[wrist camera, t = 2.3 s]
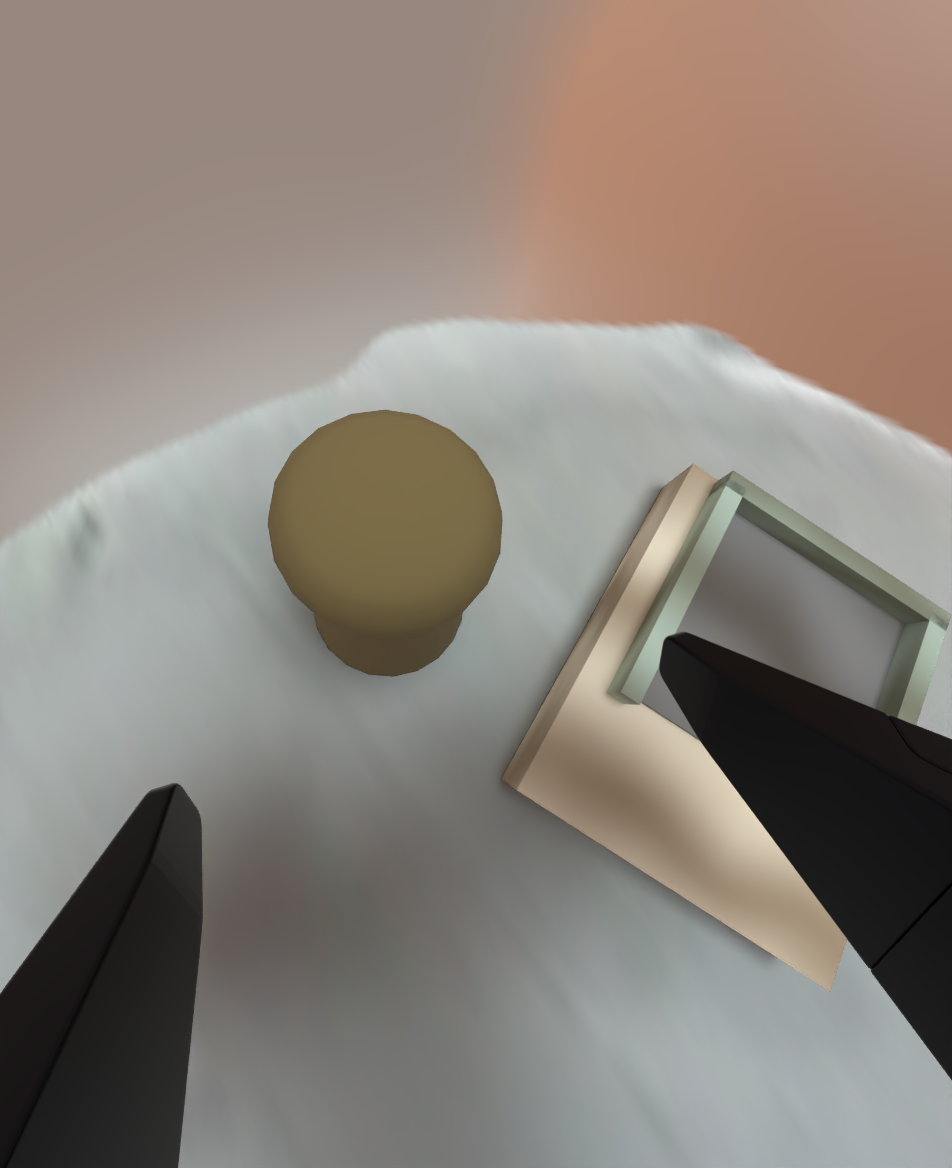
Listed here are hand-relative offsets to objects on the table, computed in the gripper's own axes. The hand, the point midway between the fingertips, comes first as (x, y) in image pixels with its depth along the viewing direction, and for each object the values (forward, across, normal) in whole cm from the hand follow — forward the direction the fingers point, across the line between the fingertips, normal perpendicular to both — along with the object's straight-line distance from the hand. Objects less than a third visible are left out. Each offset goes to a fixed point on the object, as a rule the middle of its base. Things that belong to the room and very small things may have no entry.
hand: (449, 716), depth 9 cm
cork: (+11, 0, +5) cm, 12 cm away
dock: (+5, -12, +10) cm, 17 cm away
